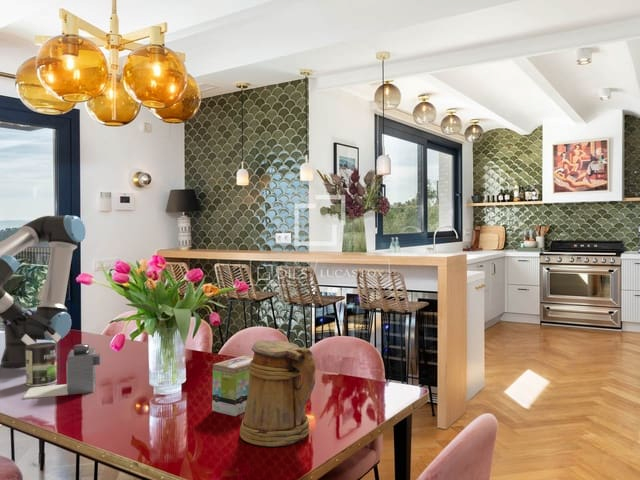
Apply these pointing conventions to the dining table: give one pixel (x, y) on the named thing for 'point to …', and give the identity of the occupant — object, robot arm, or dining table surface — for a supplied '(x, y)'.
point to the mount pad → (46, 391)
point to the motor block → (81, 369)
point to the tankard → (278, 394)
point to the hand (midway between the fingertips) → (47, 343)
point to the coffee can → (41, 364)
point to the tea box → (231, 385)
